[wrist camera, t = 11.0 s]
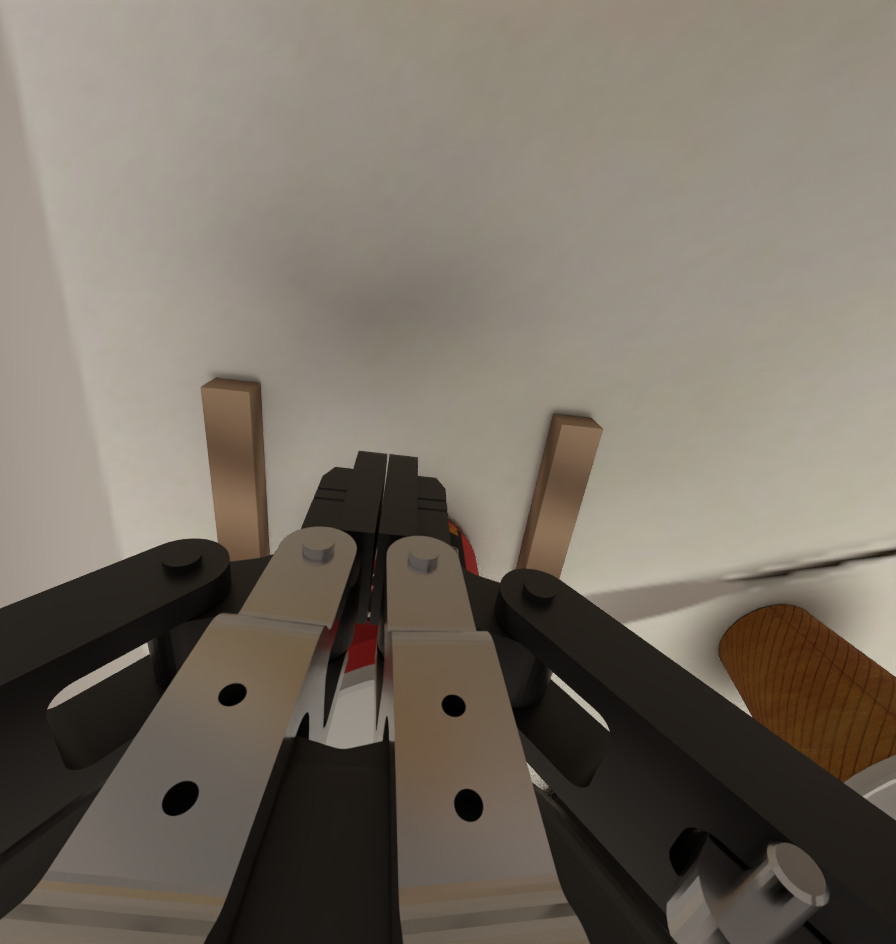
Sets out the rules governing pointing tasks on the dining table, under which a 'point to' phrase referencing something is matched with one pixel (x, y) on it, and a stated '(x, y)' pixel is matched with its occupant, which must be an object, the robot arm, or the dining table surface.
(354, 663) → the canned food
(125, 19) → the dining table surface
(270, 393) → the dining table surface
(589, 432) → the walnut bay
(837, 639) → the disposable coffee cup
